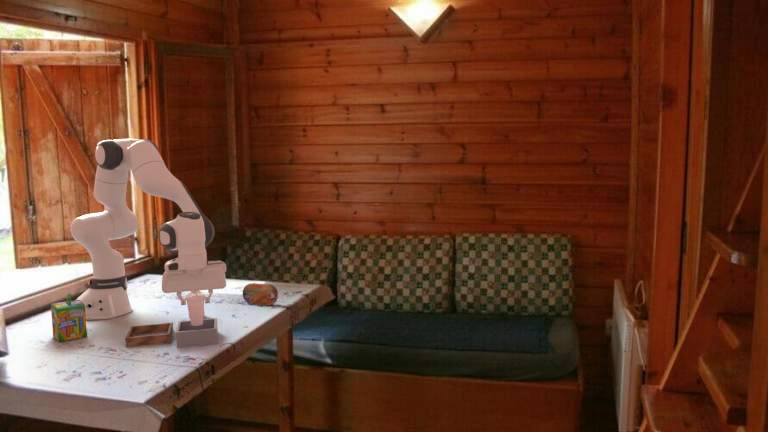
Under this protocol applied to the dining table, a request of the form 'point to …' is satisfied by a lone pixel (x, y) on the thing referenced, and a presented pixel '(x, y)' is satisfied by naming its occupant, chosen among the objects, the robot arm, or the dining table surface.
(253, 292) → the tin
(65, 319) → the chalk box
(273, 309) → the dining table surface
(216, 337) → the bin
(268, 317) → the dining table surface
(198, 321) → the smoothie
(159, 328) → the frame
